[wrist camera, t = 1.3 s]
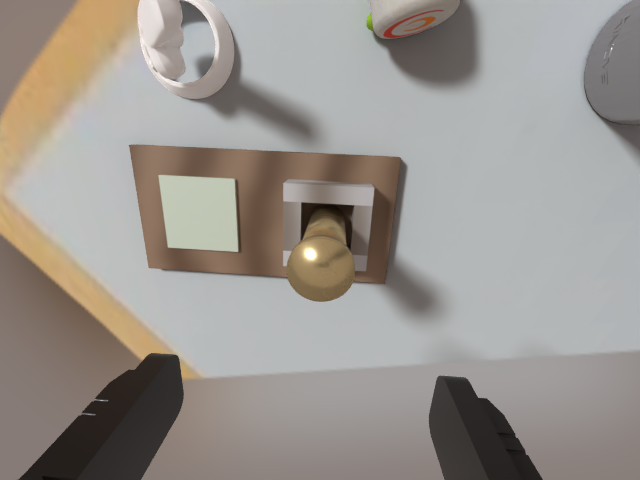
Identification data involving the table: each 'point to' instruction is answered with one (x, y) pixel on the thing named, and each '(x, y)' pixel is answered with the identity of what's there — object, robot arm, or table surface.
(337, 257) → the brass peg
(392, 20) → the roller toy
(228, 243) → the sage pad
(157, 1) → the white vr controller
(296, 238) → the walnut board
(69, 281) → the table surface
